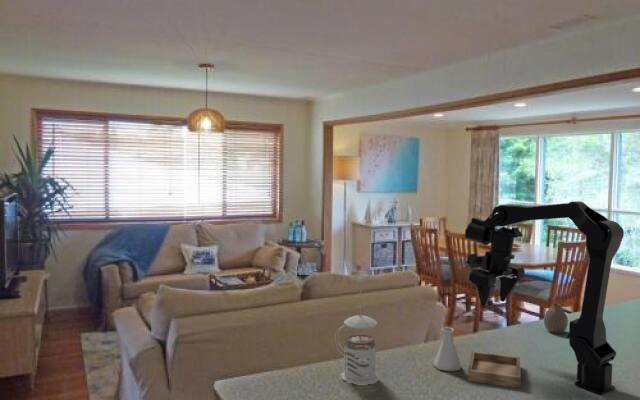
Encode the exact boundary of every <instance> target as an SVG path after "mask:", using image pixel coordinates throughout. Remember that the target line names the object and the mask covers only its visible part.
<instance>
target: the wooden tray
mask: <svg viewBox="0 0 640 400" xmlns="http://www.w3.org/2000/svg"><path fill="white" fill-rule="evenodd" d="M520 358H521V357H519V356H515V355H514V356H512V355H506V354H505V355H504V354H496V353H490V352H481V351H473V350H472V351H471V354H470V359H469V364H468V368H467V381H468V382H469V381H471V382H477V383H483V384H489V385H498V386H502V387H503V386H505V387H510V388H511V387H512V388H519V389H521V387H522V386H521V383H522V375H521V374H522V373H521V372H522V371H521V359H520Z"/></svg>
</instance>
